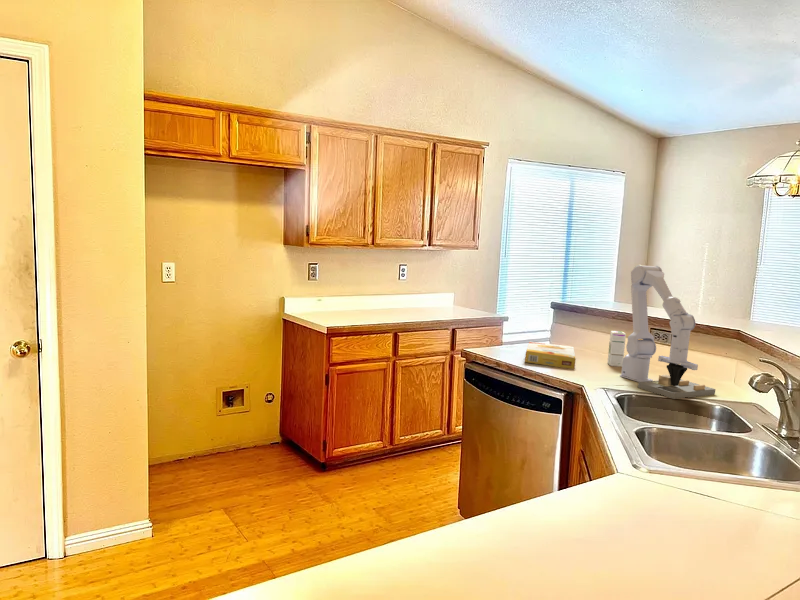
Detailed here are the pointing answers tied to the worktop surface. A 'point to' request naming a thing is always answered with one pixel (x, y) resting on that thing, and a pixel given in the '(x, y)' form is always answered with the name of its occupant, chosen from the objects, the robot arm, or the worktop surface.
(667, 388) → the board
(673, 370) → the robot arm
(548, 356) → the cereal box
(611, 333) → the syrup box
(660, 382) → the birch block
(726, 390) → the worktop surface
